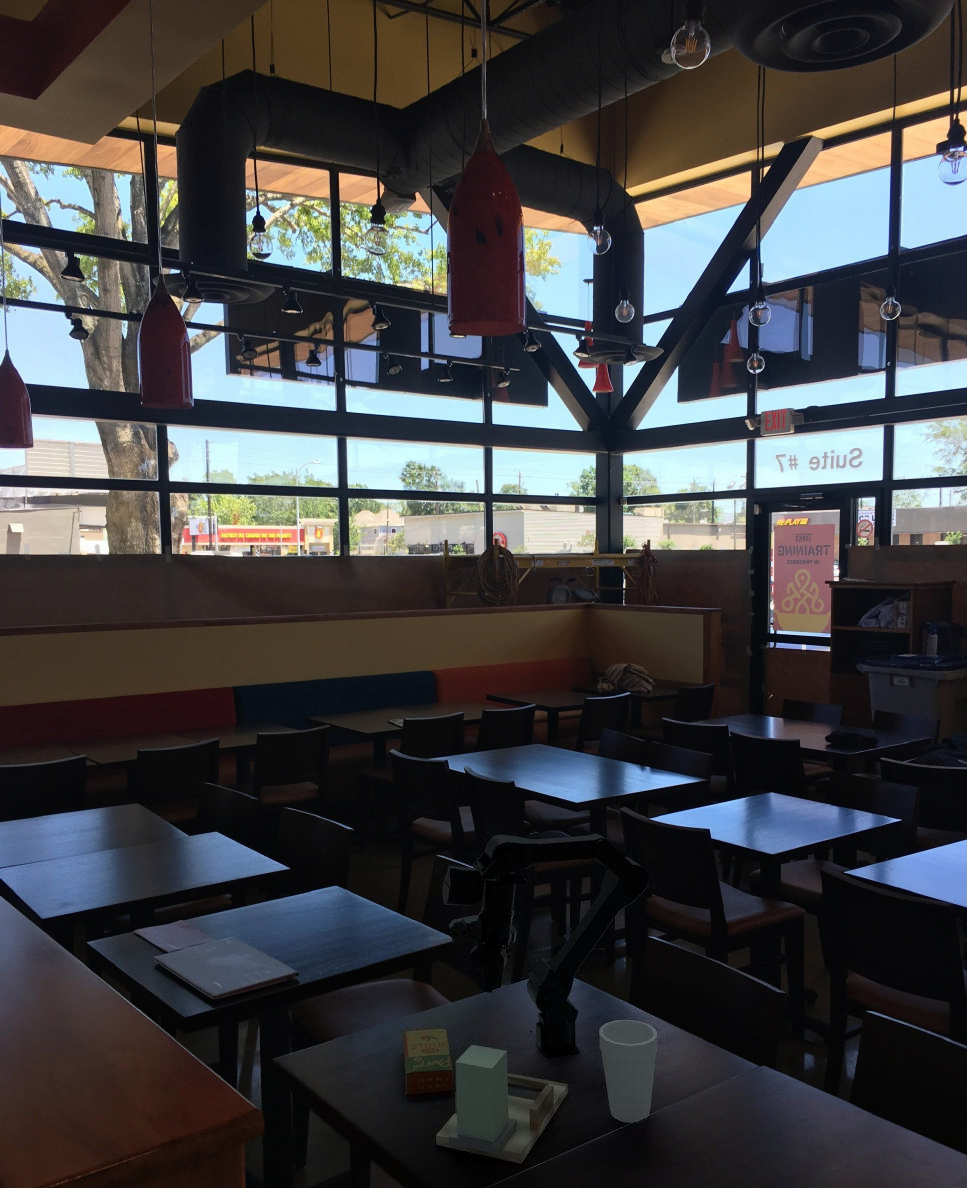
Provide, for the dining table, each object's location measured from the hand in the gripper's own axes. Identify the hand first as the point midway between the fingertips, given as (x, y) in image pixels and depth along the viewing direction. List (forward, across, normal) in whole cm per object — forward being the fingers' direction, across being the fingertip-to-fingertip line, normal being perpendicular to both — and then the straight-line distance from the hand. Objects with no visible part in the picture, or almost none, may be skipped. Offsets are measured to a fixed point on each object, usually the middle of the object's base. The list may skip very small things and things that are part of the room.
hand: (489, 991), depth 177 cm
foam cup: (+10, +16, +27) cm, 33 cm away
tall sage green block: (+11, +28, +5) cm, 31 cm away
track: (+12, +20, +7) cm, 24 cm away
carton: (+14, +6, -9) cm, 17 cm away
